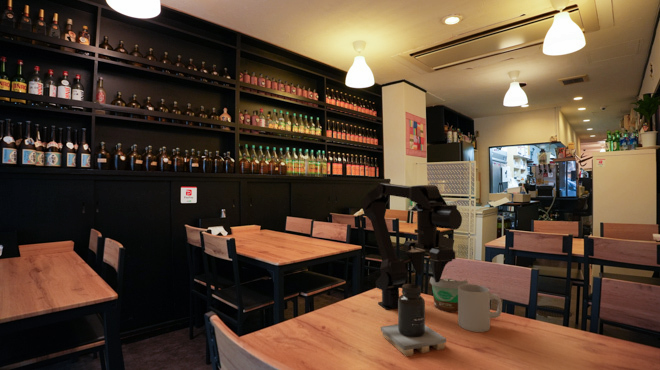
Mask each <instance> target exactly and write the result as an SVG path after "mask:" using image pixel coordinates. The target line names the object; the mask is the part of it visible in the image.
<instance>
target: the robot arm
mask: <svg viewBox="0 0 660 370" xmlns="http://www.w3.org/2000/svg"><path fill="white" fill-rule="evenodd" d="M390 196H392V197H398V198H405V199H409V200H410V201H411V202H413V203H415V205H414V206H413V207H412V208H411V211H412V212H416V221H417V222H416V224H417V225H416V228H417V229H414V233H415V234H417V235H416V236H417V239H416V240H406V241H404V242H403V245H402V250H403V251H405V253H406V255H407V256H408V258H409V260H410V262H411V264H412V266H413V269H414V270H415V272H416V274H417V275H418V276H420V275H422V271H423V270H422V267H423V266H422V265H423V257H424V256H425V254H429V257H430V258H429V264H430V267H431V271H432V275H433V276H432V277H433V278H434V279H435V282H439V281H440V279H442V278H441V277H442V276H443V272H444V269H445V267H446V265H448V263H450V262H452V261H453V260H456V258H457V257H456V251H455V250H454V249H453V247H454V243H455V239H453V238H451V237H450V238H449V237H447V236H444V235H443V234H442V232H441V230H440V229H445V230H446V229H447V230H458V229H459V228H460V227H461V225H462V223H463V217H462V214H461V212H460V210H458V205H457V204H448V203H447V202H446V200H445V199H444V198H443V196H442V194H441V192H440V189H439V188H438V186H437V185H435V184H428V185H427V184H424V185H423V184H421V185H419V184H417V185H411V186H410V185H403V184H402V185H401V184H394V183H393V184H392V183H390V182H381V183H378V184H377V185H376V186H375V188H374V189H372V190H370V191H369V192H367V194H366V195H365V196H363V198H362V200H361V203H360V204H361V209H362V211H363V213H364V215H365V216H366V218H368V219H369V221H370V222H371V225H372V229H373V233H374V237H375V240H376V243H377V247H378V250H379V254H380V257H381V264H380V268H379V270H380V275H379V276H378V278H377V279H376V280H375V287H376V289H378V290H381V301H378V302H377V304H378V305H379V306H381V307H382V308H384V309H385V310H392V309H393V310H394V309H398V299H399V297H400V288H401V289H402V286H403V285H404V284H406V282H407V278H408V269H407V268H406V263H405V261H404V259H403V260H400V259H399V258H398V257H397V255H396V252H395V248H394V245H393V242H392V237H391V235H390V232H389V228H388V225H387V222H386V218H385V216H386V213H387V207H386V206H387V204H388V203H389V202H390V198H391V197H390Z"/></svg>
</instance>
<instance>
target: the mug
mask: <svg viewBox="0 0 660 370" xmlns="http://www.w3.org/2000/svg"><path fill="white" fill-rule="evenodd" d="M492 300H495V301H496V303H497V309H496V311H495V312H494V311H493V312H492V311H491V309H490V308H491V307H490V304H491V303H490V302H491V301H492ZM502 307H503V305H502V300H501V297H500V296H499V295H498V294H495V293H490V289H489V288H488V287H486V286H483V285H478V284H473V283H472V284H470V283H468V284H464V285H460V286H458V312H457V313H458V314H457V315H458V316H457V317H458V318H457V319H458V320H457V323H458V326H459V327H461V328H462V329H464V330H466V331H469V332H473V333H485V332H488V331H490V330H491V329H490V328H491V319H497V318H498V317H499V318H500V316H501V314H502V309H503V308H502Z"/></svg>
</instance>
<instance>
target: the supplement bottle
mask: <svg viewBox="0 0 660 370" xmlns="http://www.w3.org/2000/svg"><path fill="white" fill-rule="evenodd" d="M421 295H422V288H421V285H418V284H414V283H405V284H404V285H403V286H402V287H401V295H399V299H398V308H397V312H398V313H397V319H398V320H397V324H398V330H399V332H400V333H401V334H403V335H405V336H409V337H420V336H422V335H423V334H424V333H425V325H426V302H425V301H426V300H425V299H424V298H423V296H421Z"/></svg>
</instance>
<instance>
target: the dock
mask: <svg viewBox="0 0 660 370" xmlns="http://www.w3.org/2000/svg"><path fill="white" fill-rule="evenodd" d="M380 331H381V332H382V336H383V338H384V339H386V340H387V341H388V342H389V343H390V344H391V345H392V346H394V347H395V349H396V350H398V351H399V352H400V353H402V354H403V355H404V356H405V357H410V356H414V349H416V350H417V351H419V352H420V353H421V354H424V353H430V346H432V347H433V348H434V349H435V350H436V351H441V350H445V345H446V343H447V338H446V337H444V336H443V335H441V334H440V333H438V332H436V331H435V330H434V329H432V328H431V327H429V326H427V325H426V324H425V333H424V334H423V335H422V336H420V337H409V336H405V335H403V334H401V333H400V332H399V330H398V323H397V324H390V325H385V326H380Z"/></svg>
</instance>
